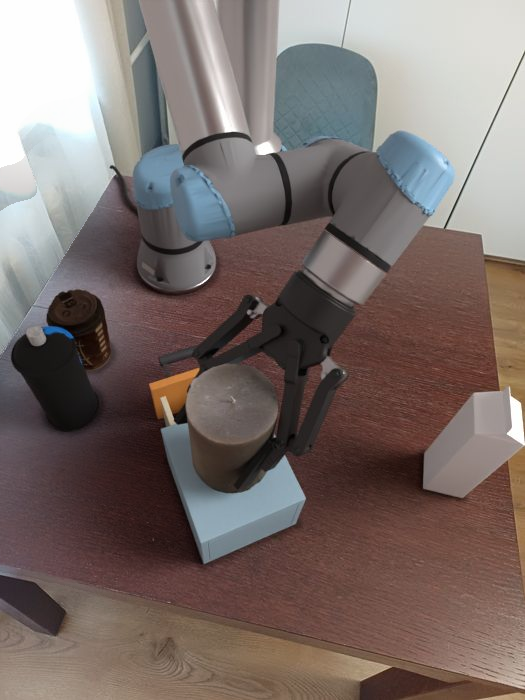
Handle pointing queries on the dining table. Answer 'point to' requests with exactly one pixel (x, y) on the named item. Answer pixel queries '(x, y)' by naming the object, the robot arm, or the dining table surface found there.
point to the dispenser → (231, 501)
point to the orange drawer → (172, 386)
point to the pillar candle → (229, 423)
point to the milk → (474, 443)
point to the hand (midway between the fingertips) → (211, 452)
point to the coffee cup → (82, 325)
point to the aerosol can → (56, 376)
